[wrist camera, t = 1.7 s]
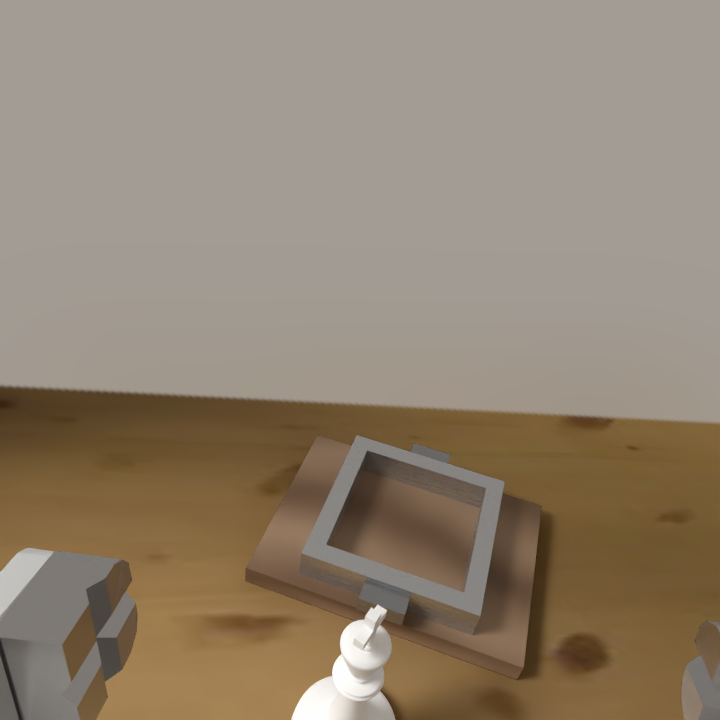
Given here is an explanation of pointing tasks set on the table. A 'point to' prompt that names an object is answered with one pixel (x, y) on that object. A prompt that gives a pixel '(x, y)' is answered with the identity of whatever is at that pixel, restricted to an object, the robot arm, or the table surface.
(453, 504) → the socket board
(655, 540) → the table surface
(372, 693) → the chess piece
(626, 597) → the table surface
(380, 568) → the square frame tray
